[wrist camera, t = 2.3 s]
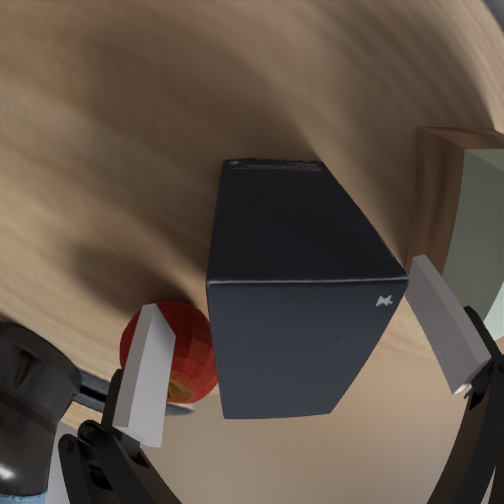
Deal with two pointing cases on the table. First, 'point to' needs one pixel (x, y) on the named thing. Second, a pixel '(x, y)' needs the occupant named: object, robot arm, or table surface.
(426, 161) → the tower base
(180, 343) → the apple
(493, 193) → the tower top
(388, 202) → the table surface
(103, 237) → the table surface
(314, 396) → the small box
